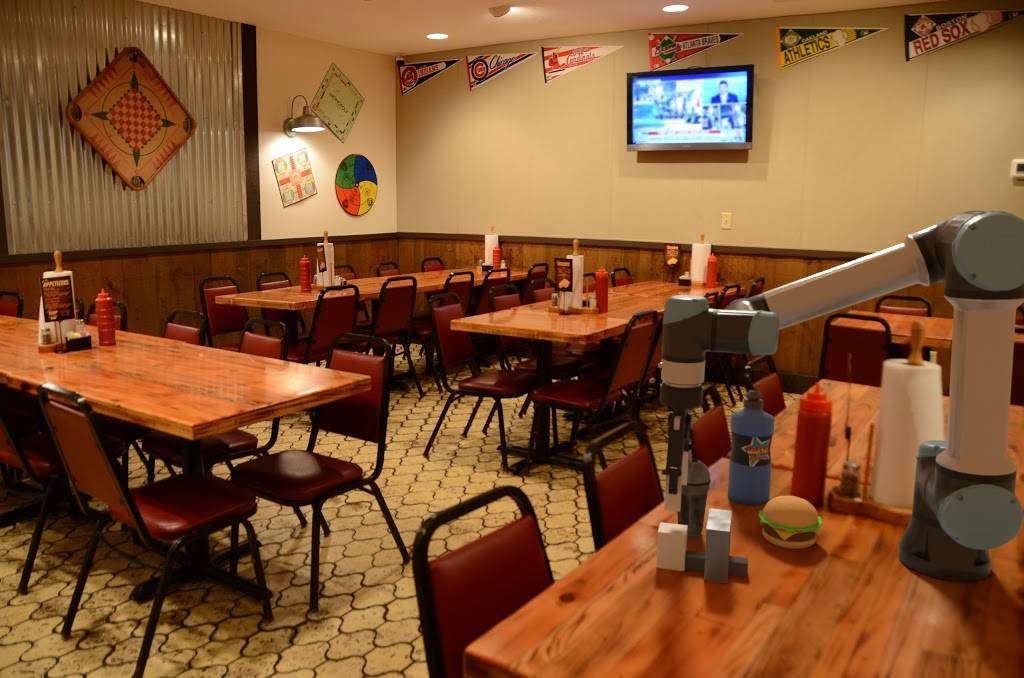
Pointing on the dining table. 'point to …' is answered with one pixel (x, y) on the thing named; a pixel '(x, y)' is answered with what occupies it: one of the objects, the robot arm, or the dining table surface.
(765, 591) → the dining table surface
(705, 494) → the beverage cup
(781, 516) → the hamburger
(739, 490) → the water bottle
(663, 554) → the beige and grey hammer
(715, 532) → the grey slab
